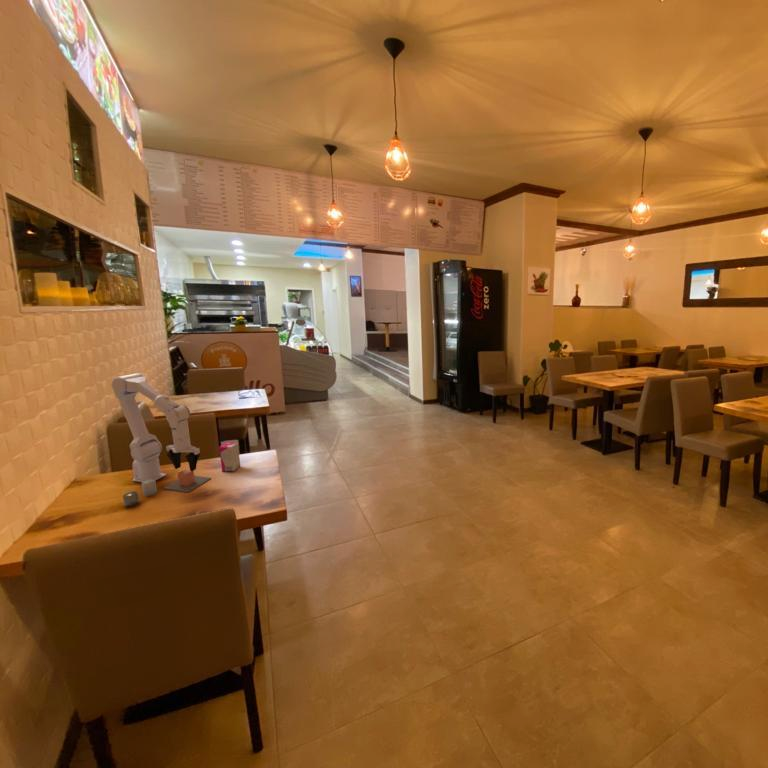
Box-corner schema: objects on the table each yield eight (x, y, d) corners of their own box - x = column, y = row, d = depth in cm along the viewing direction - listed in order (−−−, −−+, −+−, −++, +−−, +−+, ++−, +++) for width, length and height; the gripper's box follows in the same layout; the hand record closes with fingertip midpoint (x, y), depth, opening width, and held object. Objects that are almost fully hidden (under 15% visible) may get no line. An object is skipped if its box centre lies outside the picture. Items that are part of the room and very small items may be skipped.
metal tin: (121, 506, 130) (119, 496, 129) (133, 500, 134) (131, 490, 133) (130, 508, 129) (129, 498, 128) (142, 502, 133) (140, 492, 132)
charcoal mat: (163, 488, 142) (163, 488, 142) (187, 475, 154) (187, 474, 154) (188, 492, 139) (187, 491, 139) (210, 478, 150) (210, 477, 150)
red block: (179, 484, 145) (177, 473, 144) (187, 480, 148) (185, 469, 147) (187, 486, 144) (185, 474, 142) (194, 481, 147) (193, 470, 146)
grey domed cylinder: (140, 495, 138) (138, 483, 137) (151, 489, 142) (149, 478, 141) (149, 497, 137) (147, 484, 136) (159, 491, 141) (158, 479, 140)
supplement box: (240, 466, 162) (238, 442, 159) (234, 472, 156) (231, 447, 154) (228, 466, 162) (225, 441, 160) (221, 472, 156) (218, 447, 154)
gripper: (157, 438, 140) (162, 471, 143) (188, 442, 136) (192, 475, 139) (173, 432, 147) (177, 463, 150) (202, 435, 143) (206, 467, 146)
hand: (185, 469), depth 145 cm, fingers open, 7 cm apart
